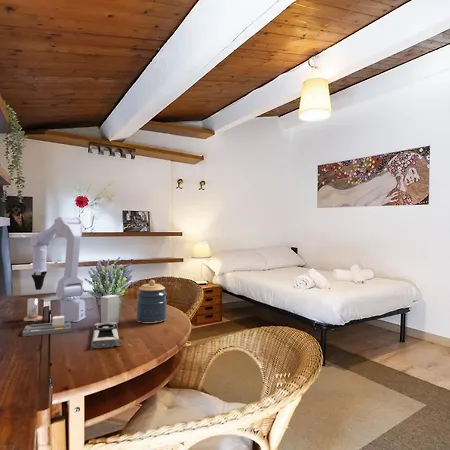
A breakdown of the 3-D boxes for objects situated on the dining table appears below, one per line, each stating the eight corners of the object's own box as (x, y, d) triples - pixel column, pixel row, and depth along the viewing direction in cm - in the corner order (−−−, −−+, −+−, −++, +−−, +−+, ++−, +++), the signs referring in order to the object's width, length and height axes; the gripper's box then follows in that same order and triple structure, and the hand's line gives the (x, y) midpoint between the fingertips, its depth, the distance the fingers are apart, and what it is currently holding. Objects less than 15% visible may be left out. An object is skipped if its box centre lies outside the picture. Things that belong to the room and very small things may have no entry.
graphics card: (91, 341, 119) (93, 321, 143) (90, 351, 119) (93, 330, 143) (122, 339, 122) (120, 320, 146) (122, 349, 122) (119, 328, 146)
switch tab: (52, 327, 138) (52, 318, 138) (52, 324, 141) (53, 316, 141) (63, 326, 139) (64, 317, 139) (64, 324, 143) (64, 315, 143)
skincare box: (111, 322, 152) (112, 294, 152) (118, 324, 150) (119, 295, 150) (100, 325, 147) (100, 296, 147) (107, 327, 145) (107, 297, 145)
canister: (144, 326, 147) (145, 283, 147) (130, 319, 157) (131, 279, 157) (172, 321, 156) (172, 280, 156) (157, 315, 166) (158, 276, 166)
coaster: (45, 317, 158) (45, 315, 158) (36, 322, 151) (36, 320, 151) (30, 317, 158) (30, 315, 158) (20, 321, 151) (20, 319, 151)
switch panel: (22, 336, 131) (22, 330, 131) (25, 329, 140) (25, 324, 140) (70, 332, 138) (70, 326, 138) (70, 326, 146) (70, 320, 146)
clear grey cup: (39, 316, 156) (40, 298, 156) (34, 319, 152) (34, 300, 152) (30, 316, 157) (31, 297, 157) (25, 318, 153) (25, 299, 153)
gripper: (31, 258, 176) (31, 286, 176) (28, 261, 163) (27, 291, 163) (47, 258, 179) (47, 285, 179) (45, 260, 165) (45, 290, 165)
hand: (39, 288), depth 171 cm, fingers open, 7 cm apart
